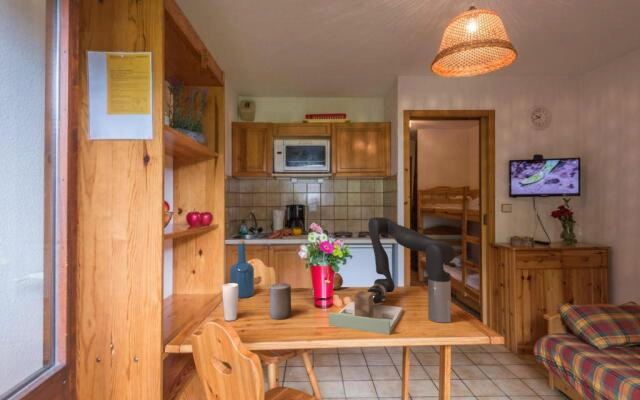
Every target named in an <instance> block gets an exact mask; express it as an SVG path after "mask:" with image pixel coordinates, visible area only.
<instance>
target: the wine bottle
mask: <svg viewBox="0 0 640 400" xmlns="http://www.w3.org/2000/svg"><path fill="white" fill-rule="evenodd" d="M246 249H247V248H246V243H245V240H239V241H238V243H237V261H236V263H234V264H232V265H231V266H230V268H229V270H228V275H229V277H228V279H229V282H228V283H236V284H238V299H248V298H250V297H252V296H253V295H254V294H255V268H254V265H253V264H252V263H249V262H248V261H247V256H246Z"/></svg>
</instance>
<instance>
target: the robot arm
mask: <svg viewBox="0 0 640 400" xmlns="http://www.w3.org/2000/svg"><path fill="white" fill-rule="evenodd" d="M367 227H368V233H369V236H370V237H369V238H370V241H371V245H372V250H373V253H374V261H375V262H374V263H375V272H376V273H377V274H378V275H383V276H384V277H385V278H376V279H375V280H374V282H373V285H372V286H371V287H370V288H369V289H367V291H366V292H373V304H377V305H379V304H382V303H383V304H384V303H386V294H388V293H393V292H394V290H395V282H394V280H393V277H392V273H391V271H390V261H389V257H388V256H389V255H388V253H387V252H386V250H385V248H384V247H383V245H382V244H383V243H382V242H381V239H380V235H386V236H391V237H393V238H394V240H395V241H396V243H397V244H398V245H400V246H402V247H404V248H406V249H408V250H412V251H417V252H422V253H425V268H426V269H425V271H426V274H427V282H428V283H427V285H428V286H427V288H428V290H427V295H428V296H427V298H428V299H427V300H428V302H427V305H428V307H427V308H428V309H427V310H428V311H427V314H428V320H430V321H432V322H436V323H451V320H452V296H451V295H452V294H451V291H452V288H451V287H452V286H451V285H452V284H451V283H452V282H451V281H452V279H451V273H449V272H448V271H445V269H444V264H449V263H450V262H453V260H454V259H455V257H456V250H455V248H454V247H453V246H452V244H450V243H449V242H446V241H442V240H438V239H435V238H432V237H429V236H427V235H425V234H423V233H420V232H418V231H416V230H414V229H412V228H409V227H406V226H404V225H401V224H398V223H396V222H394V221H393V220H391V219H389V218H387V217H384V216H382V217H381V216H379V217H378V216H377V217H376V216H375V217H371V218H370V219H369V221H368V225H367Z"/></svg>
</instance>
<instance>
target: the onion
mask: <svg viewBox="0 0 640 400" xmlns="http://www.w3.org/2000/svg"><path fill="white" fill-rule="evenodd" d="M343 284H344V279H343V276H342V275H341V274H340V273H339V272H337V273H335V277H334V289H333V290H336V291H337V290H339V289H340V288H341V287H343Z"/></svg>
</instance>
